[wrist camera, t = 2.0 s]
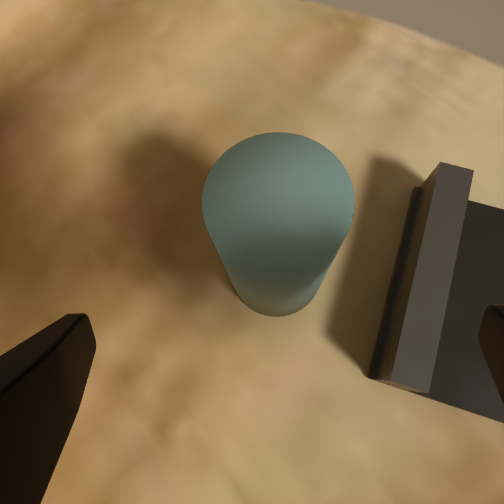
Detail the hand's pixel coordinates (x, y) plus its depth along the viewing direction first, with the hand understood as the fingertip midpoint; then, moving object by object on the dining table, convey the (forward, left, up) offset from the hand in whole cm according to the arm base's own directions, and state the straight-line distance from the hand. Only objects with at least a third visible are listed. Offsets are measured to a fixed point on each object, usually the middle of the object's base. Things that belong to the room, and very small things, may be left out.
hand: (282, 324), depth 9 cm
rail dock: (+10, -4, -11) cm, 15 cm away
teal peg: (+2, +3, -11) cm, 11 cm away
